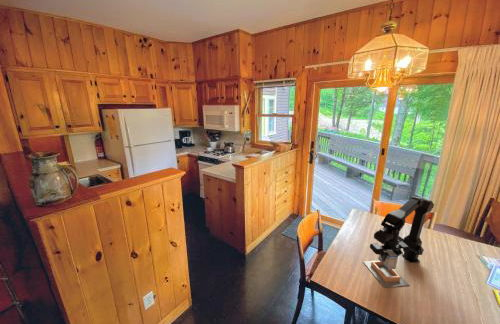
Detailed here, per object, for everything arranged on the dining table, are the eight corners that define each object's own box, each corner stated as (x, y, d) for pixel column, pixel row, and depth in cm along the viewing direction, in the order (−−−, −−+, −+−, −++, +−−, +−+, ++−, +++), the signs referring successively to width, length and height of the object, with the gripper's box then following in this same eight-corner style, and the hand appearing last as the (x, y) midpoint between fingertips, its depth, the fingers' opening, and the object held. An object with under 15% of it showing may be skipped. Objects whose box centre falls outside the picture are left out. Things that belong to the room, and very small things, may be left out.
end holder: (385, 260, 123) (386, 256, 122) (409, 285, 106) (410, 281, 105) (362, 261, 122) (363, 257, 121) (383, 287, 105) (384, 283, 104)
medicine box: (378, 259, 116) (380, 246, 113) (385, 258, 116) (387, 245, 114) (387, 269, 108) (390, 256, 106) (396, 269, 108) (398, 255, 106)
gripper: (397, 226, 116) (392, 249, 120) (365, 228, 115) (361, 251, 119) (413, 238, 105) (407, 263, 109) (378, 241, 104) (374, 266, 108)
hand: (387, 260), depth 112 cm, fingers closed on medicine box, 4 cm apart
